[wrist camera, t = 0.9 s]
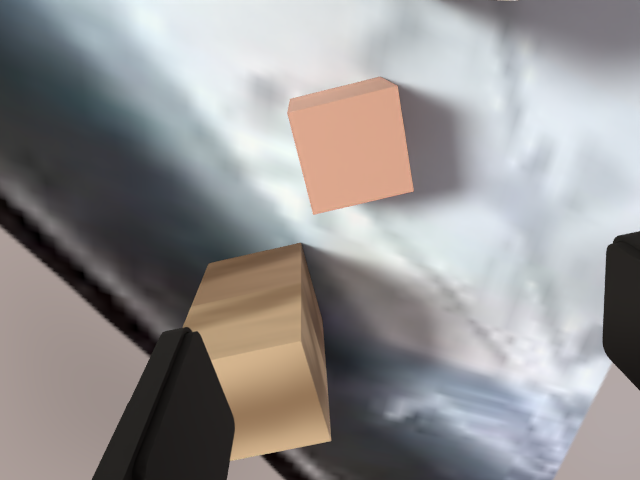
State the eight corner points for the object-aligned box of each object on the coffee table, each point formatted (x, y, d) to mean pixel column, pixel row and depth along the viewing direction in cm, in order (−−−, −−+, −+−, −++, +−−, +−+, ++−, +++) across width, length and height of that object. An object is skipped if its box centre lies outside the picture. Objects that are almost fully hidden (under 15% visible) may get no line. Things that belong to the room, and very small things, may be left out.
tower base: (208, 263, 29) (191, 306, 24) (301, 242, 28) (301, 282, 24) (237, 339, 31) (226, 391, 27) (322, 320, 31) (326, 370, 26)
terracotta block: (289, 98, 25) (287, 112, 20) (379, 76, 25) (397, 85, 20) (311, 184, 27) (313, 214, 22) (394, 164, 27) (413, 191, 22)
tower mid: (191, 306, 24) (165, 369, 20) (301, 282, 24) (300, 340, 19) (226, 391, 27) (210, 464, 22) (326, 370, 26) (331, 440, 22)
